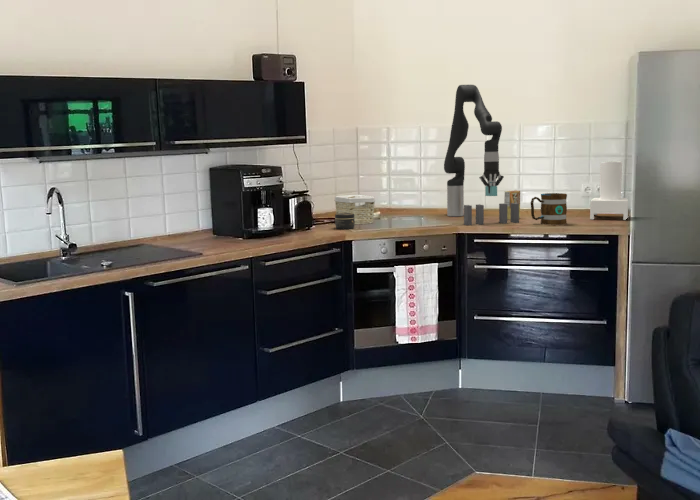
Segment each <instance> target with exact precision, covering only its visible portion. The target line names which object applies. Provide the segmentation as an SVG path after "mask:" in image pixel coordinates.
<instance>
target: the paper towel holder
mask: <svg viewBox="0 0 700 500" xmlns="http://www.w3.org/2000/svg"><path fill="white" fill-rule="evenodd" d="M622 162H623V161H618V160H617V161H613V160H612V161H600V162H599V164H600V165H599V167H600V168H599V197H593V198H592V199H591V200H590V201H589V202H590V205H589V207H590V208H589V210H590V211H589V220H595V216H594V215H597V216H598V215H600V214H605V215H606V214H608V215H609V214H614V215H623V218H622V220H623V221H627V220H626V219H627V218H628V219H629V216H628V199H627V198H628V197H622V180H623V179H622V171H623V163H622Z"/></svg>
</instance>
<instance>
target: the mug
mask: <svg viewBox="0 0 700 500" xmlns="http://www.w3.org/2000/svg"><path fill="white" fill-rule="evenodd" d="M567 198H568V194H567V193H561V192H554V193H553V192H551V193H550V192H549V193H548V192H547V193H540V198H539V197H538V196H534V197H532V198H531V200H530V213H531V214H530V215H531V218H532V219H533V220H534V221H538V220H540V224H541V225H549V226H550V225H554V226H555V225H557V226H558V225H567V223H568V222H567V212H568V210H567V209H568V206H567V200H568V199H567ZM535 200H537V201H538V202H539V203H540V216H538V217H536V216H535V206H534V203H535Z"/></svg>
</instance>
